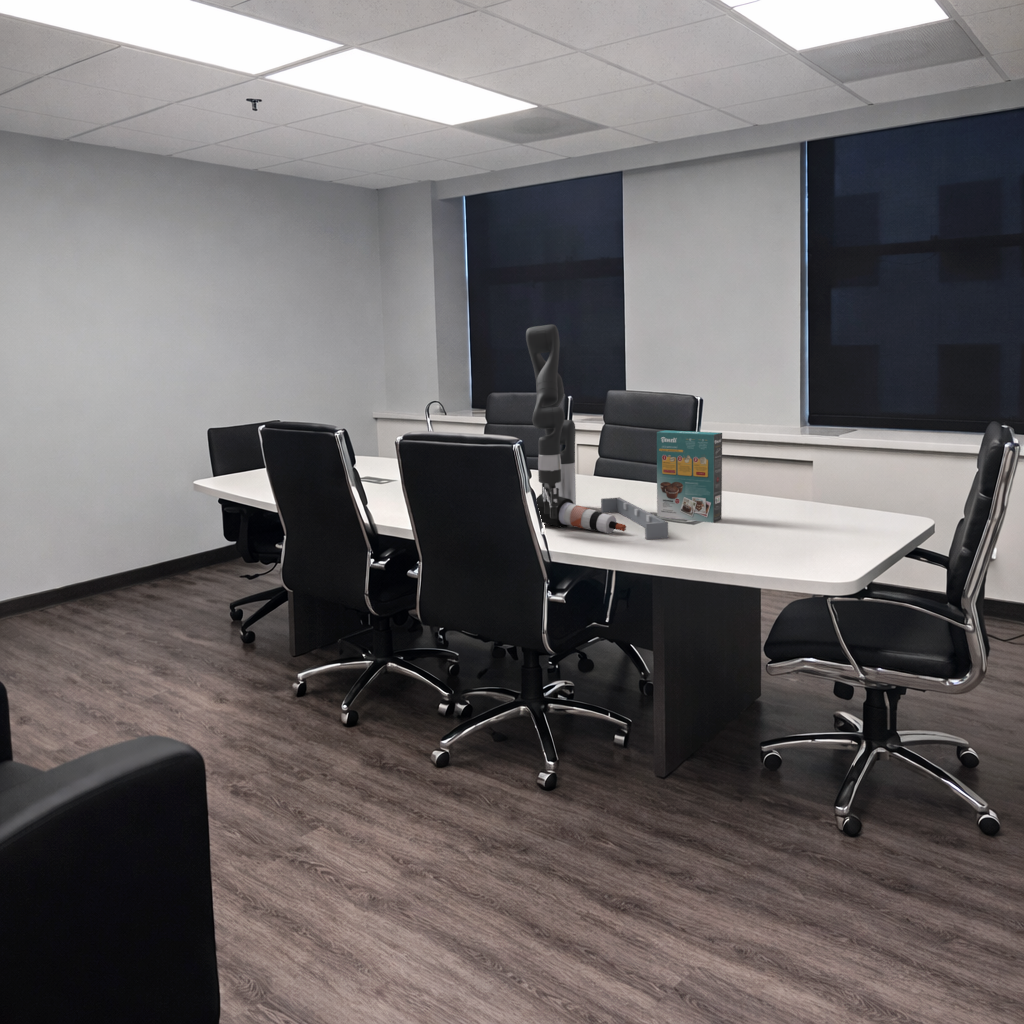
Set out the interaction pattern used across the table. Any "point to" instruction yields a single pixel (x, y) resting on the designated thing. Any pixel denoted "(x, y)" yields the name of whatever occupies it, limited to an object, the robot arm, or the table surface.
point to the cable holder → (637, 517)
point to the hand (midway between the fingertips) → (550, 516)
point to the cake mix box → (689, 475)
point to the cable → (579, 517)
